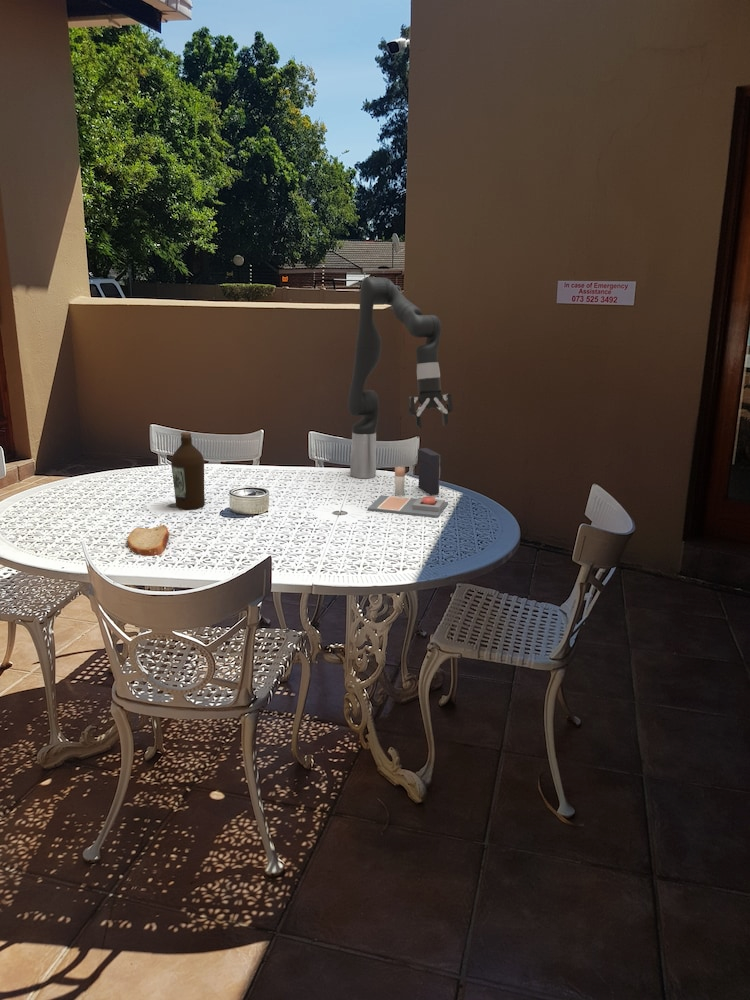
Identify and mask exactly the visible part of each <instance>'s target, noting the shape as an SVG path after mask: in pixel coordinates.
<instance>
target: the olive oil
mask: <svg viewBox="0 0 750 1000" xmlns="http://www.w3.org/2000/svg"><path fill="white" fill-rule="evenodd" d="M192 440H193V439H192V433H191V432H188V431H184V432H181V433H180V445H179V447H178V448H177V449H176V450H175V451H174V453H173V454H172V455H171V459H170V464H171V465H170V466H171V473H172V481H173V490H174V491H173V492H174V498H175V499H174V500H175V506H176V509H179V510H184V511H185V510H186V511H187V510H188V511H192V510H197V509H198V508H199V509H202V508H203V507H205V503H206V501H205V499H206V498H205V458H204V456H203V454H202V452H201V451H200V450H199V449H198V448H196V447H195V446H194V445H193V441H192Z"/></svg>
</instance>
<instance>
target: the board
mask: <svg viewBox="0 0 750 1000" xmlns="http://www.w3.org/2000/svg"><path fill="white" fill-rule="evenodd" d="M422 498H423V497H418V498H414V497H405V496H404V497H403V496H394V495H391V496H390V495H384V494H383V495H382V494H381V495H380V496H379V497H377V498H376V499H375V500H374V501H373V503H371V504H370V505H369V506H368V507H367V511H370V512H379V513H387V514H388V513H389V514H398V515H407V516H408V515H409V516H418V517H427V518H436V519H437V518H439V517H440V516H441V515H442V513H443V511H444V510H445V509H446V507H447V506H448V505H449V501H446V500H445V499H438V498H435V505H427V504H422Z"/></svg>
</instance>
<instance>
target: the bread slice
mask: <svg viewBox="0 0 750 1000" xmlns="http://www.w3.org/2000/svg"><path fill="white" fill-rule="evenodd" d="M169 538H170V532H169V530H168V527H167V525H166V524H163V525H159V526H156V527H152V528H148V527H147V528H145V527H136V528H134V529H133V530H131V532H130V533H129V534H128V536H127V540H126V544H128V545H127V546H128V547H129V548H130V550H131V552H132V551H133V552H134V553H133V552H132V553H133V554H135V553H136V554H135V555H138V554H139V555H138V556H144V557H156V556H155V555H157V556H160V555H162V554H163V553H164V551H165V550H166V548H167V545H168V542H169ZM129 548H128V549H129ZM130 550H129V551H130Z"/></svg>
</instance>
